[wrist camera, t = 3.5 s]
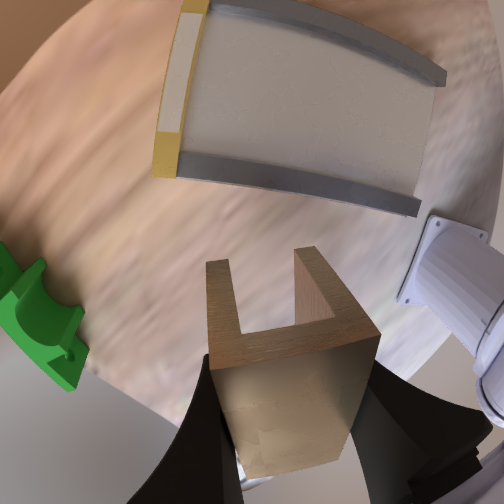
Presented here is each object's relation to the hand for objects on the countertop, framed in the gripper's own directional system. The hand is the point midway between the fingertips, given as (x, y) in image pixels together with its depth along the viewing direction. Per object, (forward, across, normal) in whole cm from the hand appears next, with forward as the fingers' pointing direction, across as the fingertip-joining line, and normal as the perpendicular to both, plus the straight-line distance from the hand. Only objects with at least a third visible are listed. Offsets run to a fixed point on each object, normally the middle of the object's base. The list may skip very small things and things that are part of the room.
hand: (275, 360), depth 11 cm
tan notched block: (+2, 0, 0) cm, 2 cm away
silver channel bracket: (+8, -5, -10) cm, 14 cm away
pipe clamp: (+9, +15, 0) cm, 17 cm away
